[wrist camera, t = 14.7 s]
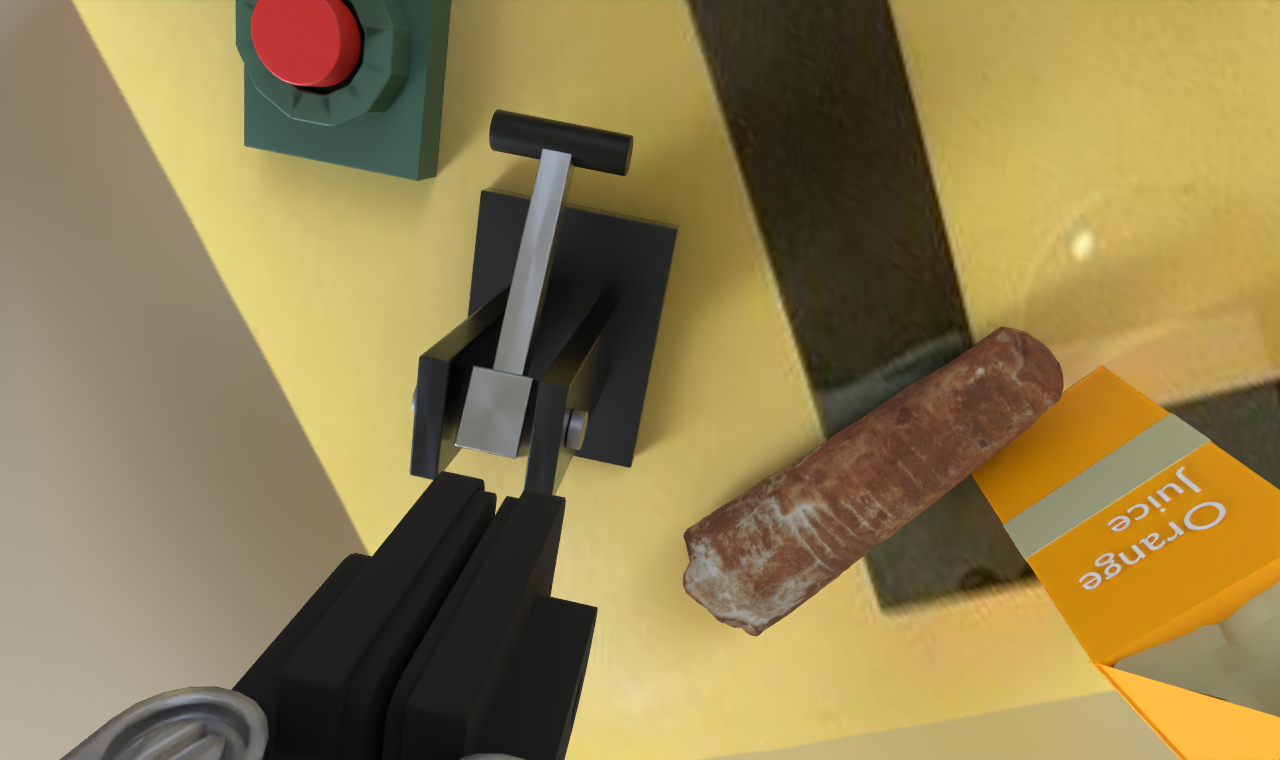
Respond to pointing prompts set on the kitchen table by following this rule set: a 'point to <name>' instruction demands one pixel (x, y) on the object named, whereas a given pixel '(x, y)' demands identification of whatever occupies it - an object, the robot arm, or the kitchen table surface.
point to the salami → (866, 482)
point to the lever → (531, 274)
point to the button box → (358, 94)
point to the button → (306, 40)
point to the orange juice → (1153, 562)
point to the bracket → (556, 338)
